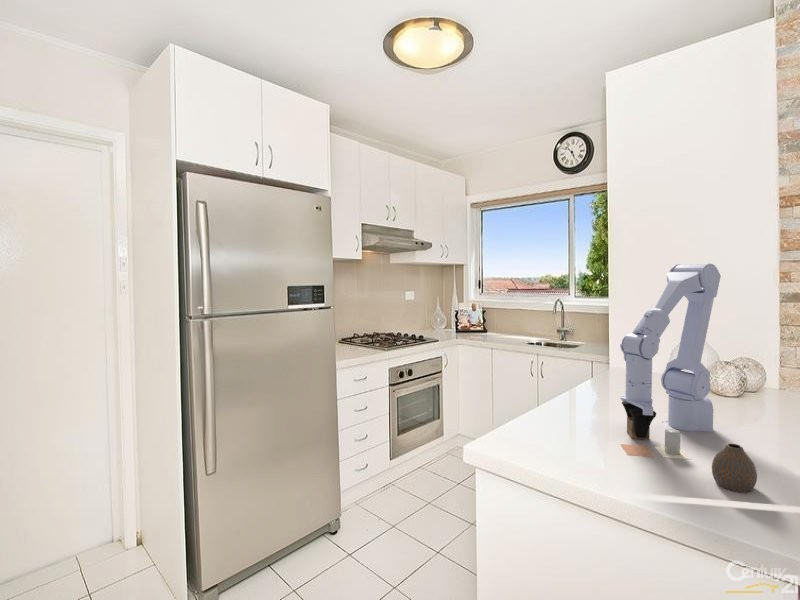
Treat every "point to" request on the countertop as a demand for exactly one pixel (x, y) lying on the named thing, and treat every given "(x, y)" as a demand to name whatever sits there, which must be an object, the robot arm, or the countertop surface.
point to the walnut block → (632, 431)
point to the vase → (734, 469)
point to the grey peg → (672, 441)
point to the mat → (644, 451)
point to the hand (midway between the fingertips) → (637, 433)
